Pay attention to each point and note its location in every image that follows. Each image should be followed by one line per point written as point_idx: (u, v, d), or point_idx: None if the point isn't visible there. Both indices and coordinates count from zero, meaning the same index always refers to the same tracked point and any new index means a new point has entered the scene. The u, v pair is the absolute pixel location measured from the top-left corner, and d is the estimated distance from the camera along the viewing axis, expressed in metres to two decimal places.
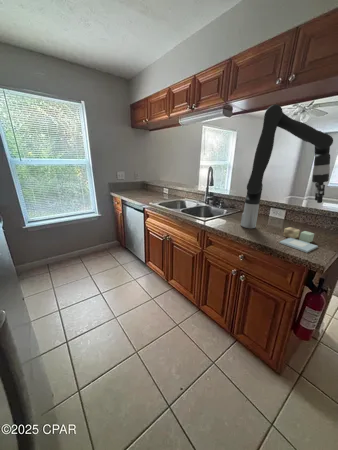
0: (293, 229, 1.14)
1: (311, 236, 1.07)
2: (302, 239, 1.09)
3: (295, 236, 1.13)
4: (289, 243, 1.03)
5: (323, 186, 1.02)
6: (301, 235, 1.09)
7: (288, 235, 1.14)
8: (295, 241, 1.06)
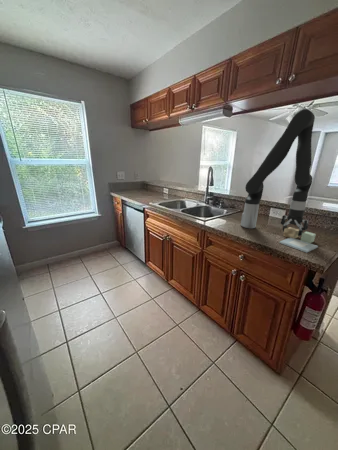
0: (293, 229, 1.14)
1: (313, 237, 1.06)
2: (303, 240, 1.09)
3: (295, 236, 1.13)
4: (289, 243, 1.03)
5: (308, 221, 1.07)
6: (302, 236, 1.09)
7: (288, 235, 1.14)
8: (295, 241, 1.06)
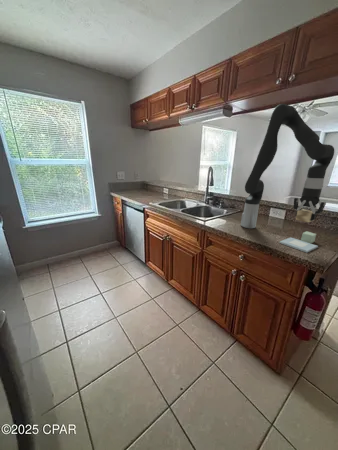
0: (308, 211, 0.97)
1: (313, 237, 1.06)
2: (304, 240, 1.08)
3: None
4: (289, 243, 1.03)
5: (325, 204, 0.91)
6: (303, 236, 1.08)
7: (302, 218, 0.97)
8: (295, 241, 1.06)
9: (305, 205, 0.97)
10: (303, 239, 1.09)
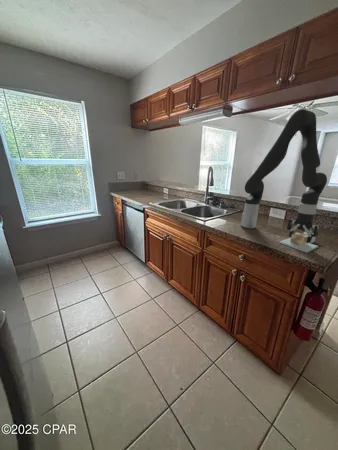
0: (301, 235, 1.02)
1: (313, 237, 1.06)
2: None
3: (304, 243, 1.00)
4: (289, 243, 1.03)
5: (318, 227, 0.95)
6: None
7: (296, 242, 1.02)
8: None
9: (298, 228, 1.01)
10: None
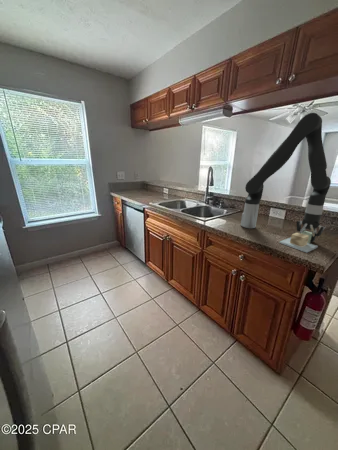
0: (301, 235, 1.02)
1: None
2: None
3: (304, 243, 1.00)
4: (289, 243, 1.03)
5: (324, 228, 1.02)
6: None
7: (296, 242, 1.02)
8: None
9: (307, 228, 1.07)
10: None
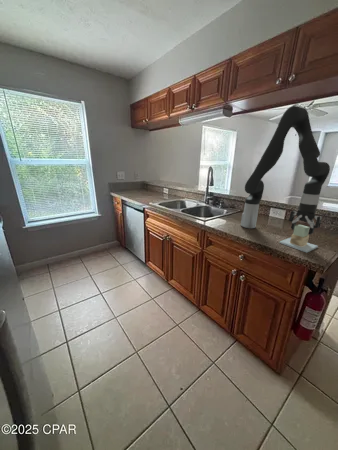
0: None
1: (306, 230, 0.99)
2: (296, 233, 1.01)
3: (304, 243, 1.00)
4: (289, 243, 1.03)
5: (321, 218, 0.93)
6: (295, 229, 1.01)
7: (296, 242, 1.02)
8: None
9: (300, 219, 0.99)
10: (295, 232, 1.01)
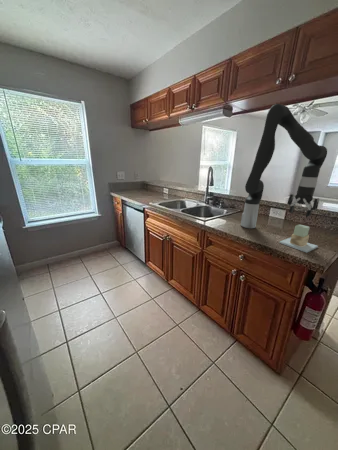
0: None
1: (306, 230, 0.99)
2: (297, 233, 1.01)
3: (304, 243, 1.00)
4: (289, 243, 1.03)
5: (318, 200, 0.97)
6: (296, 229, 1.01)
7: (296, 242, 1.02)
8: None
9: (298, 202, 1.03)
10: (296, 232, 1.01)
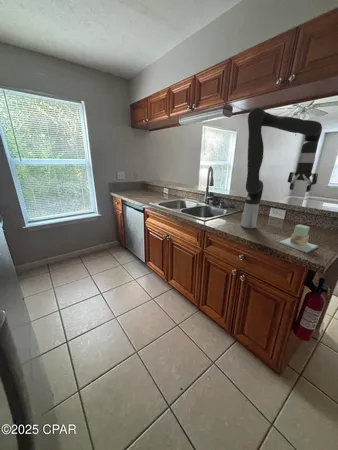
0: None
1: (306, 230, 0.99)
2: (297, 233, 1.01)
3: (304, 243, 1.00)
4: (289, 243, 1.03)
5: (317, 175, 1.01)
6: (296, 229, 1.01)
7: (296, 242, 1.02)
8: None
9: (298, 179, 1.08)
10: (296, 232, 1.01)
